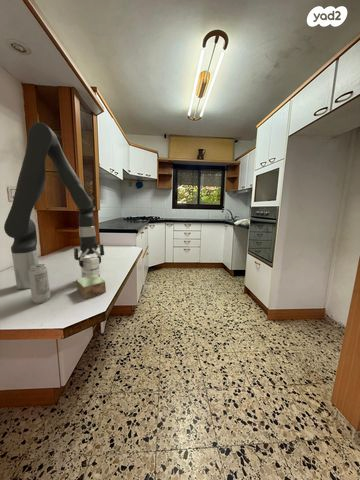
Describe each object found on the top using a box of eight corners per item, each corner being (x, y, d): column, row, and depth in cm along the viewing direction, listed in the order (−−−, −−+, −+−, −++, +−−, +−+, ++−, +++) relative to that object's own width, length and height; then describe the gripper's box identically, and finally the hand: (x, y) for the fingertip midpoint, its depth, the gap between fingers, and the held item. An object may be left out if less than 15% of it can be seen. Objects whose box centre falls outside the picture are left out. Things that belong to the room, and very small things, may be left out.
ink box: (100, 278, 101) (99, 257, 99) (93, 282, 97) (91, 260, 94) (89, 276, 105) (87, 255, 102) (81, 279, 100) (79, 257, 98)
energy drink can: (46, 295, 82) (42, 262, 79) (53, 299, 79) (49, 265, 76) (29, 301, 77) (24, 266, 74) (37, 305, 74) (31, 269, 71)
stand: (85, 298, 79) (84, 287, 78) (77, 290, 87) (76, 279, 86) (106, 292, 85) (105, 281, 84) (96, 284, 93) (96, 274, 92)
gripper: (74, 237, 89) (78, 270, 92) (104, 234, 98) (107, 263, 101) (70, 235, 94) (74, 266, 97) (99, 232, 104) (101, 260, 107)
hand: (90, 265), depth 99 cm, fingers open, 8 cm apart
